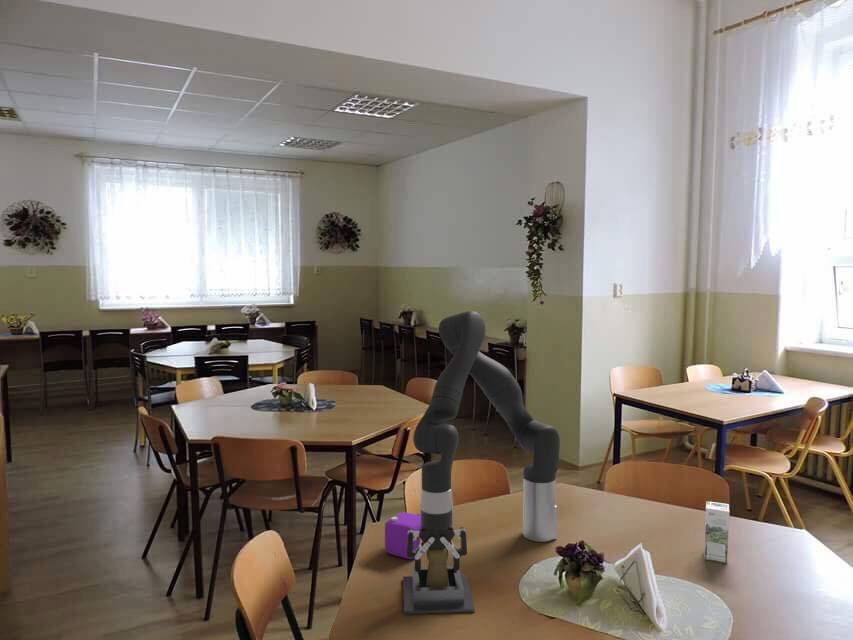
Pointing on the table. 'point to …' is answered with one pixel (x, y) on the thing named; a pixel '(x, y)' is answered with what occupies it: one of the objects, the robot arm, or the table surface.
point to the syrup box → (716, 532)
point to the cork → (437, 568)
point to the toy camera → (401, 533)
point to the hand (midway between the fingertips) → (436, 572)
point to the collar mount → (436, 594)
